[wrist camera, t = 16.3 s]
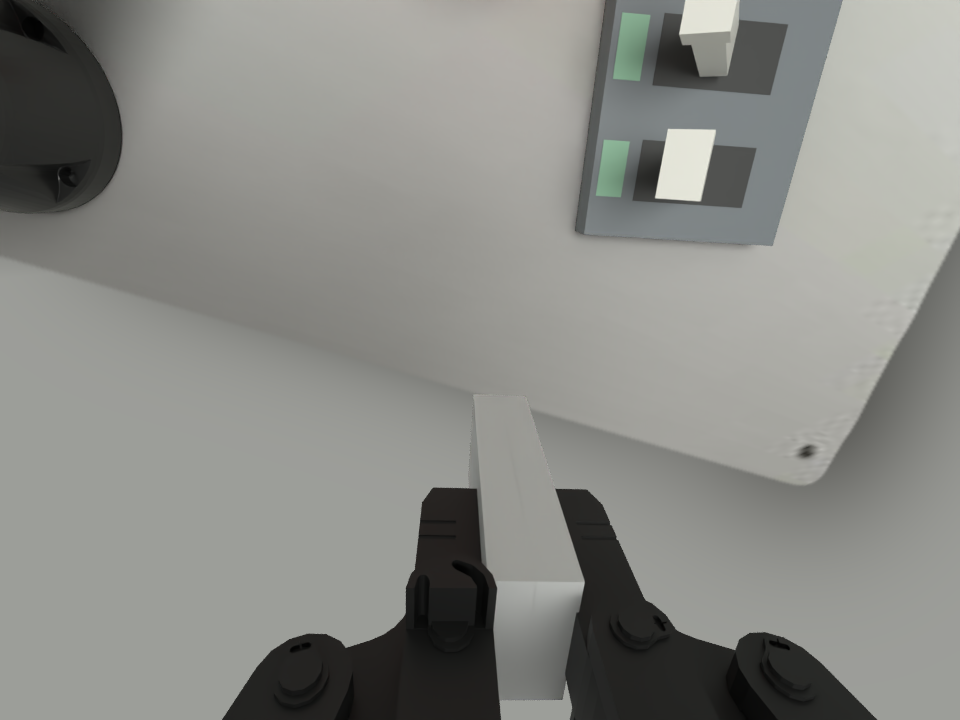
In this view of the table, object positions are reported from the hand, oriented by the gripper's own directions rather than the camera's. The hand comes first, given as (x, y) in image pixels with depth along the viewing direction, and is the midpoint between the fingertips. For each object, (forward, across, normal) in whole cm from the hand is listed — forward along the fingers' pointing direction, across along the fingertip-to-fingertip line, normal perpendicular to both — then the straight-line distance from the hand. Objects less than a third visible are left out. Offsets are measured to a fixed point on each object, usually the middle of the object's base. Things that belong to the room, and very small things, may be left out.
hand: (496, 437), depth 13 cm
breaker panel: (+29, +17, +16) cm, 38 cm away
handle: (+26, +17, +16) cm, 35 cm away
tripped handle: (+26, +17, +8) cm, 33 cm away
